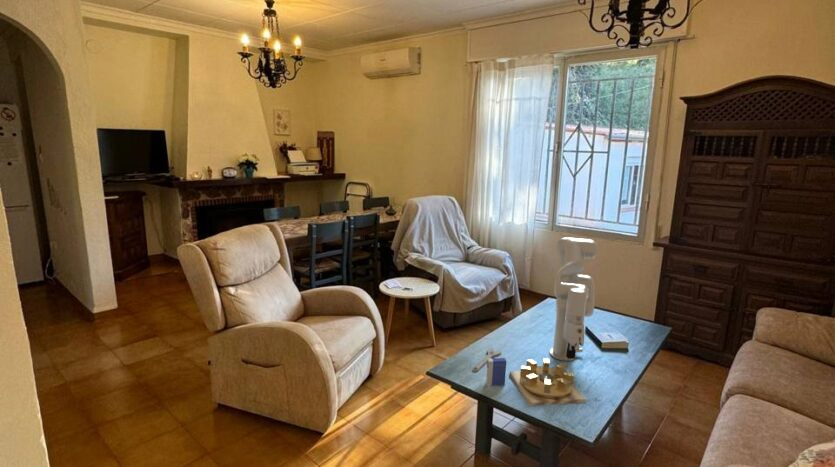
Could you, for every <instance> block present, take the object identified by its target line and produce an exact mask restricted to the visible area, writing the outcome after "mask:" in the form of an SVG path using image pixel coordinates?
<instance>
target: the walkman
mask: <svg viewBox="0 0 835 467" xmlns="http://www.w3.org/2000/svg"><path fill="white" fill-rule="evenodd" d="M506 370H507V359H506V358H505V357H493V358H488V362H487V363H486V379H485V381H486V386H487V387H492V386H494V387H495V386H497V387H498V386H506V383H505V382H506V372H507V371H506Z"/></svg>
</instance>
